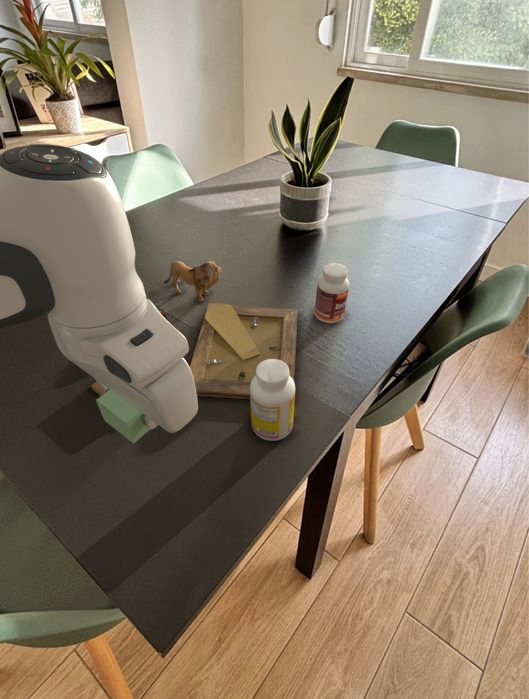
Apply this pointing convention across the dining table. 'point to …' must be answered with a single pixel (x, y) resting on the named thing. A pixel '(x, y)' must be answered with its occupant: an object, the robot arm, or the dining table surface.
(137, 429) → the green block
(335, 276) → the pill bottle
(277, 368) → the supplement bottle
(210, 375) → the picture frame
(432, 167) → the dining table surface
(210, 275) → the lion figurine
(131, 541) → the dining table surface
